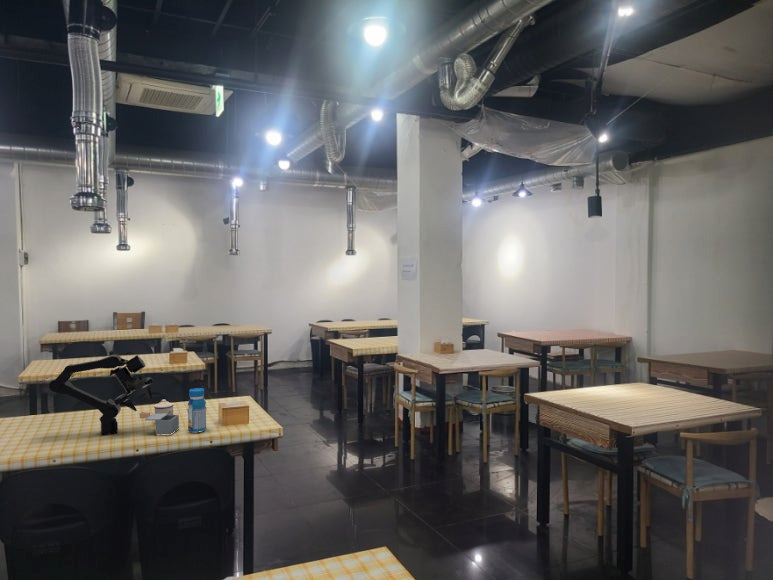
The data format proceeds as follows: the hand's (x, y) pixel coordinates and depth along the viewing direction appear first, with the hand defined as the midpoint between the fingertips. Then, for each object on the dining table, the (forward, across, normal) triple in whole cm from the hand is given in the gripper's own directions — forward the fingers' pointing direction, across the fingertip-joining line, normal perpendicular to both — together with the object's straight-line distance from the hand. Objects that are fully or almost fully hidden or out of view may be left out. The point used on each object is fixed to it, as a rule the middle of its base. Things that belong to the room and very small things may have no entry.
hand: (144, 405), depth 249 cm
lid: (+6, -3, -5) cm, 8 cm away
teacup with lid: (+15, +9, +9) cm, 19 cm away
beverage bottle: (+23, +5, -17) cm, 29 cm away
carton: (+16, -2, -8) cm, 18 cm away
